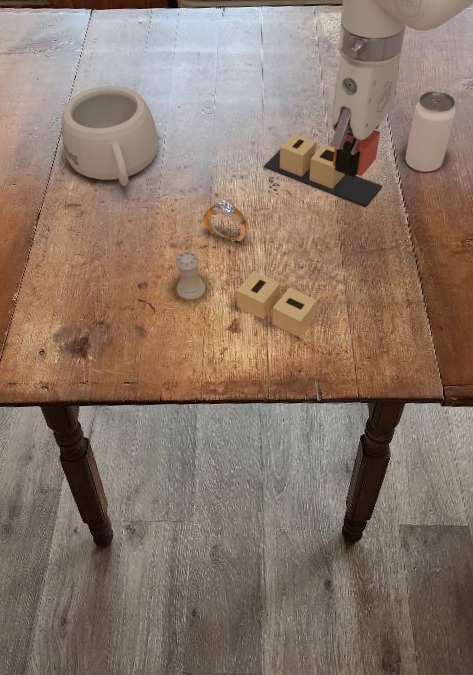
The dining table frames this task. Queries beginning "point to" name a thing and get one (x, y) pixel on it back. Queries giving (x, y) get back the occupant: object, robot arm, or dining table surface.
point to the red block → (364, 151)
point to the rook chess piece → (189, 276)
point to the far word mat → (341, 190)
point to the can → (430, 131)
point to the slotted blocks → (276, 303)
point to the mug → (108, 133)
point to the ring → (227, 210)
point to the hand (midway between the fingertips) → (354, 161)
